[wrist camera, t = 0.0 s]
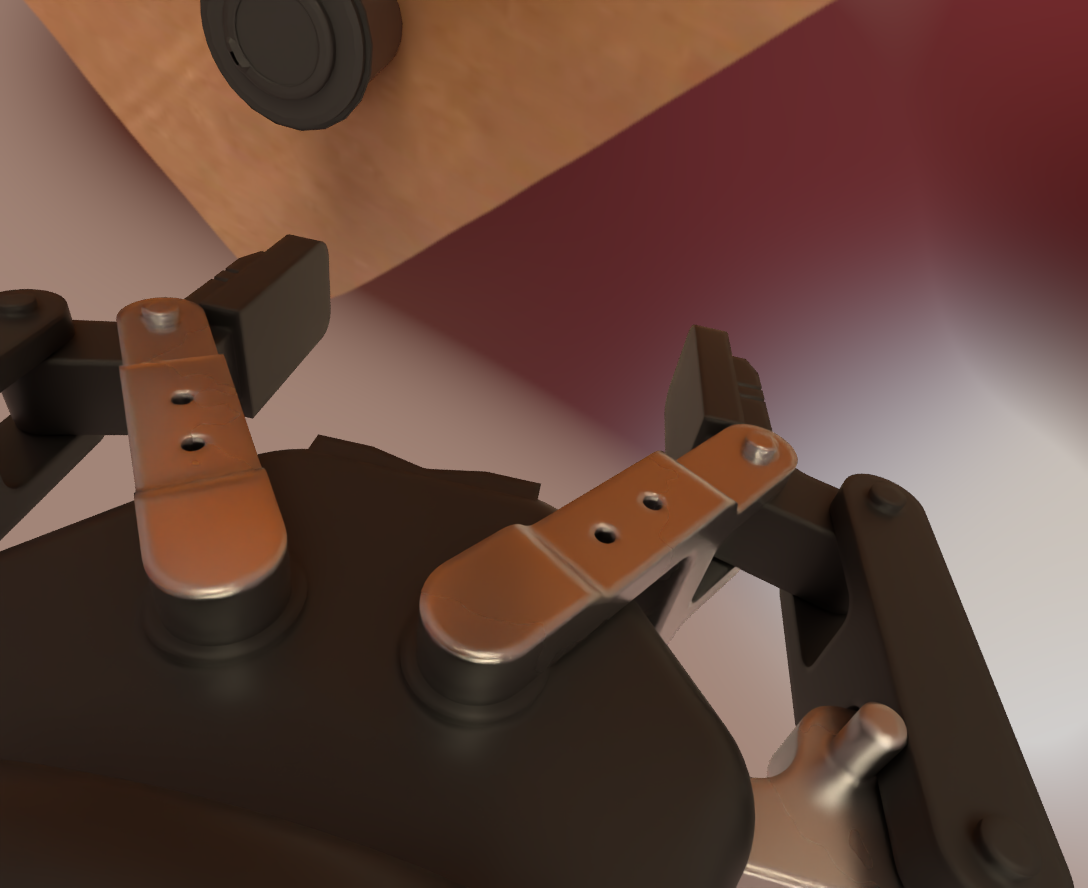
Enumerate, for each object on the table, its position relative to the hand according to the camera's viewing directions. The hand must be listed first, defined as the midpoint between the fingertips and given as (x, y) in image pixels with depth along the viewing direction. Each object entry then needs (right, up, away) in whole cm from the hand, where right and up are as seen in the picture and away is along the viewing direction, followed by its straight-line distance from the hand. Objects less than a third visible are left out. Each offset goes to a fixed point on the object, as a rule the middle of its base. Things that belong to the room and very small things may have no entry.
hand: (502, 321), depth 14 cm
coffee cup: (-10, +21, +23) cm, 33 cm away
